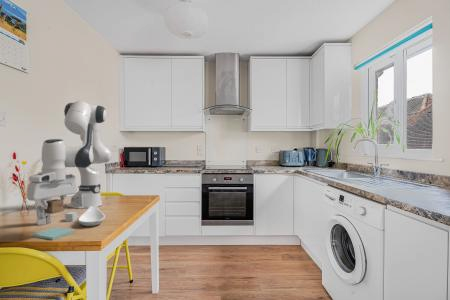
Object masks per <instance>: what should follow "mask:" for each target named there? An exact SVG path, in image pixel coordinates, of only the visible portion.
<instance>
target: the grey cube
mask: <svg viewBox="0 0 450 300" xmlns="http://www.w3.org/2000/svg"><path fill="white" fill-rule="evenodd" d="M78 213H79V212H78V211H70V212H67V213H65V214H64V220H65V222H67V223H68V222H70V223H71V222H72V223H73V222H75V221H78V219H79V216H78V215H79V214H78Z"/></svg>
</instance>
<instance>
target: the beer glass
mask: <svg viewBox="0 0 450 300" xmlns="http://www.w3.org/2000/svg"><path fill="white" fill-rule="evenodd" d="M49 200H53V197H52V198H47V201H49ZM34 205H35V212H36V223H35V225H36V226H46V225H49V224H51V222H52V220H51V214H50V213H44V208H43V204H42V203H41V200H35V201H34Z"/></svg>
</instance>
